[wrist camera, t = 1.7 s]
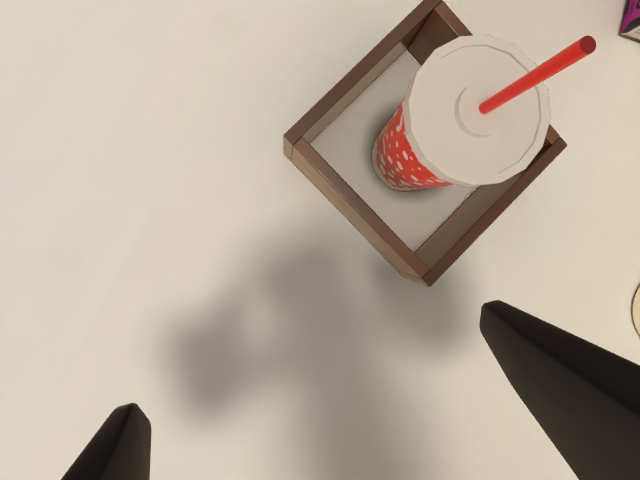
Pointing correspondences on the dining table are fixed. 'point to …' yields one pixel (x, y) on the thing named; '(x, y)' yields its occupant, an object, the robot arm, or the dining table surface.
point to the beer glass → (636, 310)
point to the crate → (422, 266)
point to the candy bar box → (632, 21)
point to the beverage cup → (470, 115)
